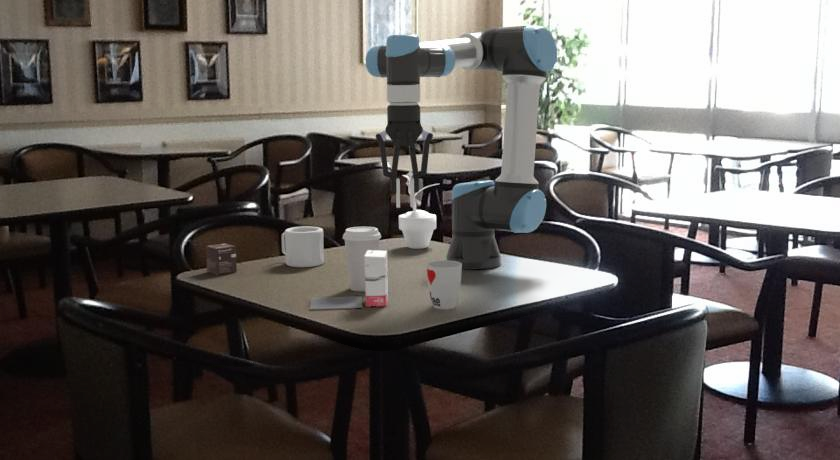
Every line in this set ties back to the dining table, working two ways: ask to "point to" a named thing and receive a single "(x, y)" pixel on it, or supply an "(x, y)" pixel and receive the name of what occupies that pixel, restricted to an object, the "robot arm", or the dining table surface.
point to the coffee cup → (359, 253)
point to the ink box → (376, 278)
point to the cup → (444, 283)
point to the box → (221, 259)
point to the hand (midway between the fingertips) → (405, 206)
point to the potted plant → (417, 223)
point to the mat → (336, 303)
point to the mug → (303, 246)
